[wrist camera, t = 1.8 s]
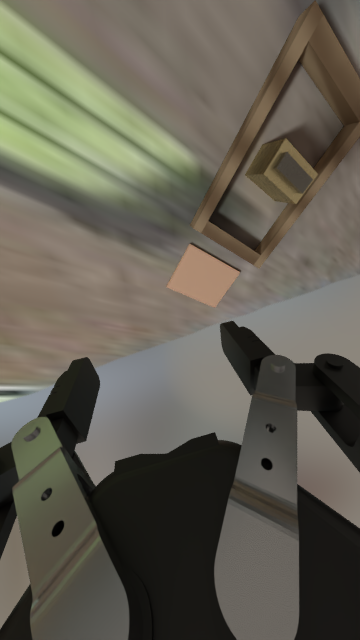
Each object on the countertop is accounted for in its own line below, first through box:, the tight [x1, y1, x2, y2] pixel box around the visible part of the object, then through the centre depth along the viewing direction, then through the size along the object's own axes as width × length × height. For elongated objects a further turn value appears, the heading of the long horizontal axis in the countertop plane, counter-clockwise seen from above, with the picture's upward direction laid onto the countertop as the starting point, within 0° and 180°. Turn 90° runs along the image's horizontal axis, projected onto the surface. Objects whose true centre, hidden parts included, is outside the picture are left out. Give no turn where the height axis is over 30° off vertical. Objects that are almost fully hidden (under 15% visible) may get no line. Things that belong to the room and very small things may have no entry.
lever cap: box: [245, 138, 318, 204], centre depth 28 cm, size 4×7×6 cm, turn 60°
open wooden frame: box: [190, 0, 360, 268], centre depth 29 cm, size 24×15×2 cm, turn 150°
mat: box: [166, 244, 240, 308], centre depth 38 cm, size 9×12×1 cm
